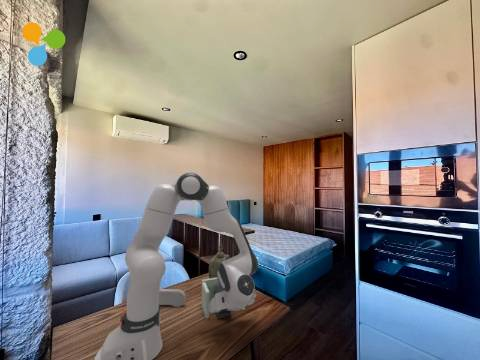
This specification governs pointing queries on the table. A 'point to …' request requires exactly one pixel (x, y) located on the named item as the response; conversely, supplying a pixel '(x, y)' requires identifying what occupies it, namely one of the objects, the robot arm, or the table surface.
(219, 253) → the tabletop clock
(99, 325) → the table surface
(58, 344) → the table surface
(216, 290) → the small box
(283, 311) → the table surface
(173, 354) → the table surface
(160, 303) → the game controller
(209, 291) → the rack
